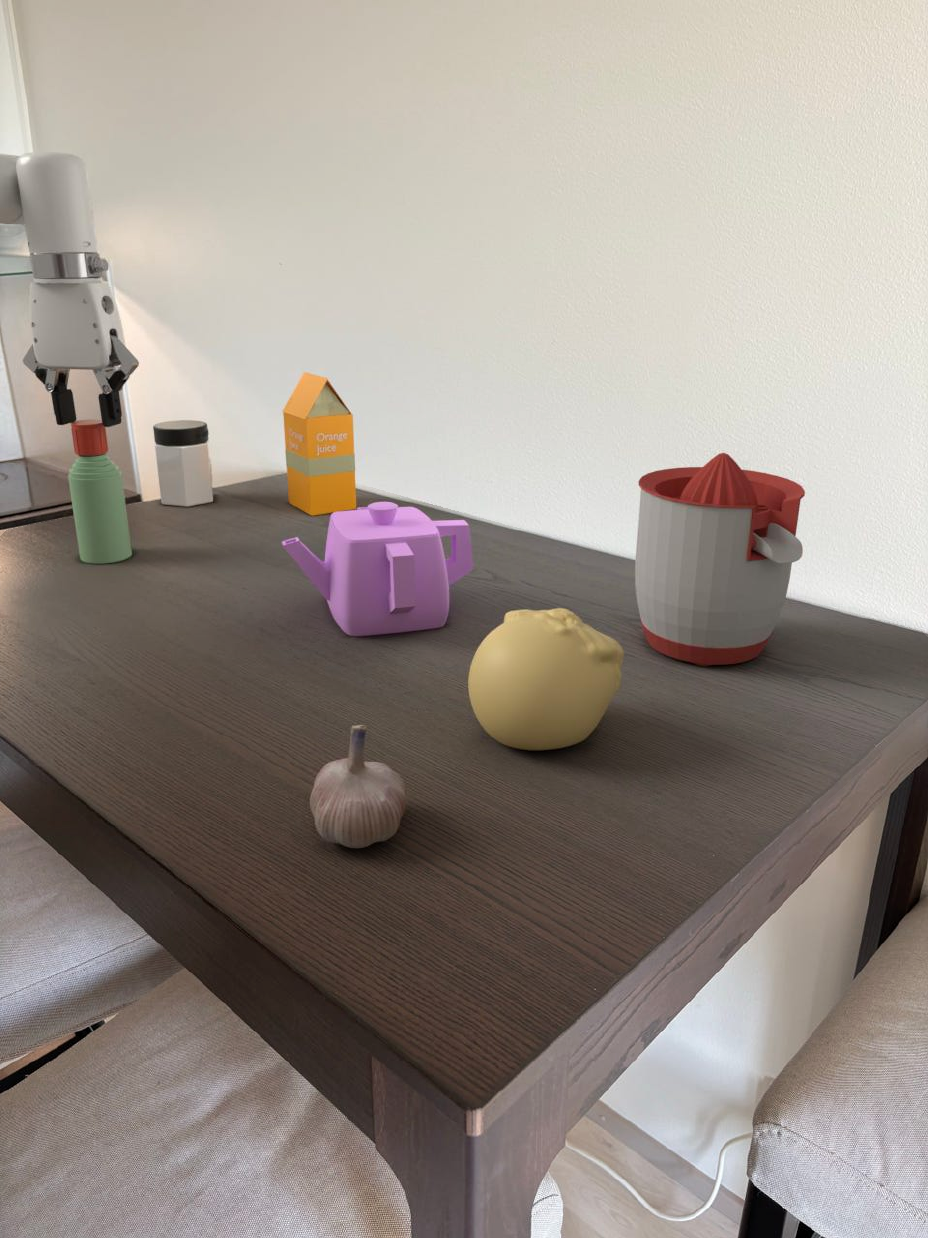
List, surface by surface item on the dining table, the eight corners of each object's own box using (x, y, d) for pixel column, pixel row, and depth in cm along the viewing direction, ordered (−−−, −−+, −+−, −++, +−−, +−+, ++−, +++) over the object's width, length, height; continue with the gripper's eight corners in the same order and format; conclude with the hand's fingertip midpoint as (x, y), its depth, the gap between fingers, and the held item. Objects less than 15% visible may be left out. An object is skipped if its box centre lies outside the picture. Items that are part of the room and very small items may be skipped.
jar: (214, 505, 149) (207, 428, 145) (159, 508, 147) (150, 430, 143) (214, 492, 157) (208, 418, 153) (163, 494, 155) (155, 420, 151)
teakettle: (412, 652, 96) (410, 534, 92) (277, 622, 104) (269, 512, 99) (487, 600, 110) (488, 496, 106) (363, 577, 118) (360, 478, 113)
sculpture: (637, 732, 81) (647, 614, 77) (541, 783, 73) (546, 654, 69) (537, 689, 89) (541, 579, 85) (441, 731, 81) (441, 612, 77)
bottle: (70, 561, 123) (49, 429, 117) (98, 547, 129) (80, 420, 122) (114, 565, 122) (96, 431, 115) (141, 550, 127) (125, 422, 121)
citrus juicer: (714, 698, 87) (738, 482, 80) (596, 634, 101) (607, 446, 94) (830, 662, 94) (862, 462, 87) (705, 608, 108) (723, 431, 101)
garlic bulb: (364, 787, 72) (361, 692, 70) (435, 824, 68) (434, 724, 65) (286, 830, 67) (278, 729, 64) (357, 873, 63) (352, 766, 60)
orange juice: (332, 496, 155) (326, 370, 147) (357, 508, 148) (352, 376, 140) (287, 503, 151) (279, 373, 143) (310, 515, 144) (303, 380, 136)
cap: (68, 454, 119) (64, 424, 117) (87, 448, 122) (83, 418, 121) (96, 456, 118) (92, 425, 116) (114, 450, 121) (110, 420, 120)
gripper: (149, 268, 114) (167, 421, 120) (23, 268, 117) (47, 416, 124) (113, 270, 107) (135, 432, 113) (-19, 270, 111) (9, 427, 117)
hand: (89, 422), depth 119 cm, fingers open, 5 cm apart
